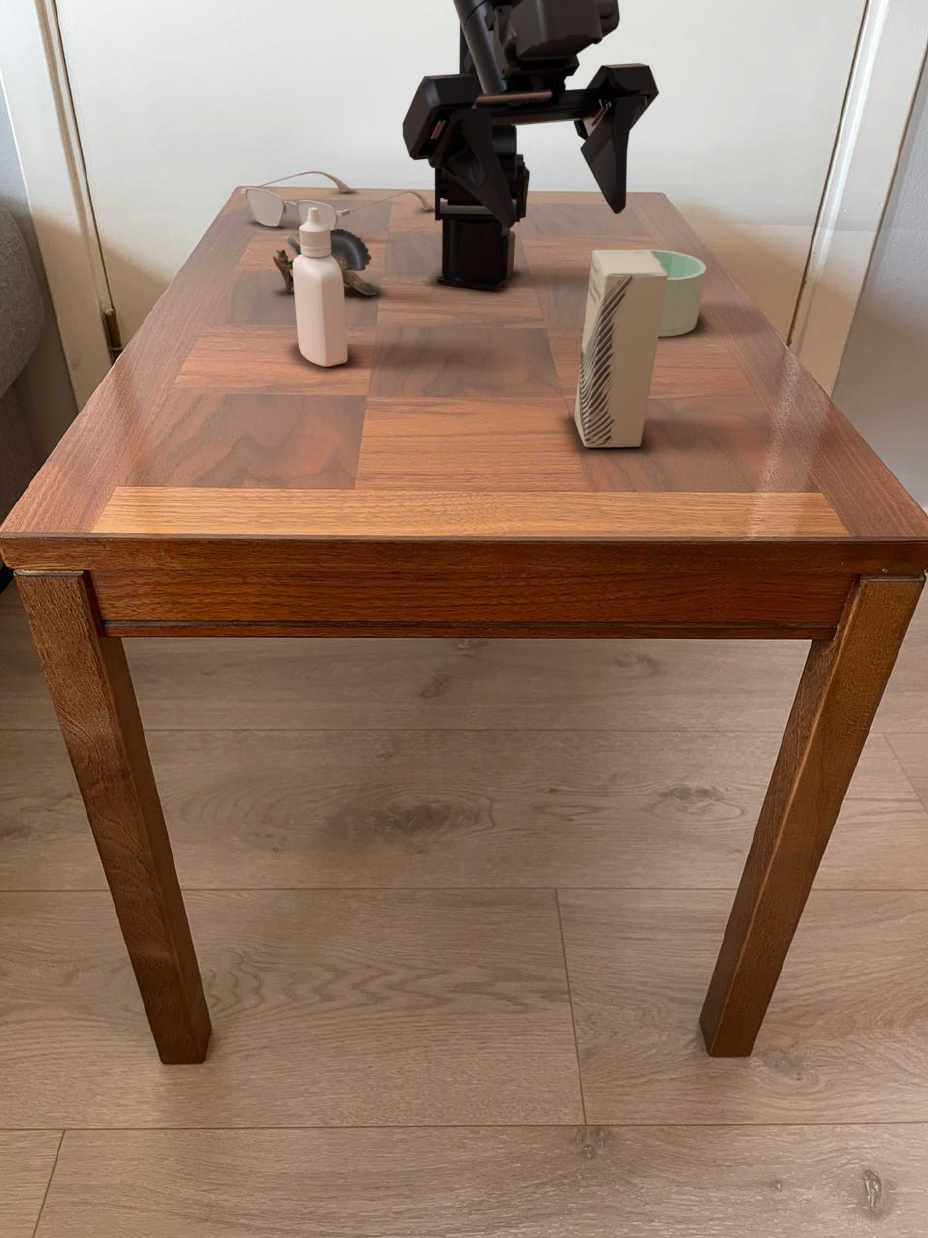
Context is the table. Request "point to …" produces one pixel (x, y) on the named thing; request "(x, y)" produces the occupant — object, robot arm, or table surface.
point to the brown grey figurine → (343, 250)
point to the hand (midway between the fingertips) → (567, 217)
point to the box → (619, 346)
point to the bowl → (681, 292)
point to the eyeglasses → (301, 204)
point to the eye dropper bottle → (319, 296)
